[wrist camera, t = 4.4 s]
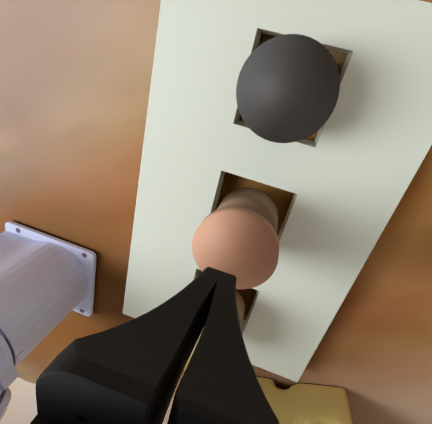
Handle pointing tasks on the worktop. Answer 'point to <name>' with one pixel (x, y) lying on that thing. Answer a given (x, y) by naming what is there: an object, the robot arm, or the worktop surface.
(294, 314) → the socket board
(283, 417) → the cheese
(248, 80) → the plug black
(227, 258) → the plug terracotta
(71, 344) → the robot arm
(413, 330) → the worktop surface
